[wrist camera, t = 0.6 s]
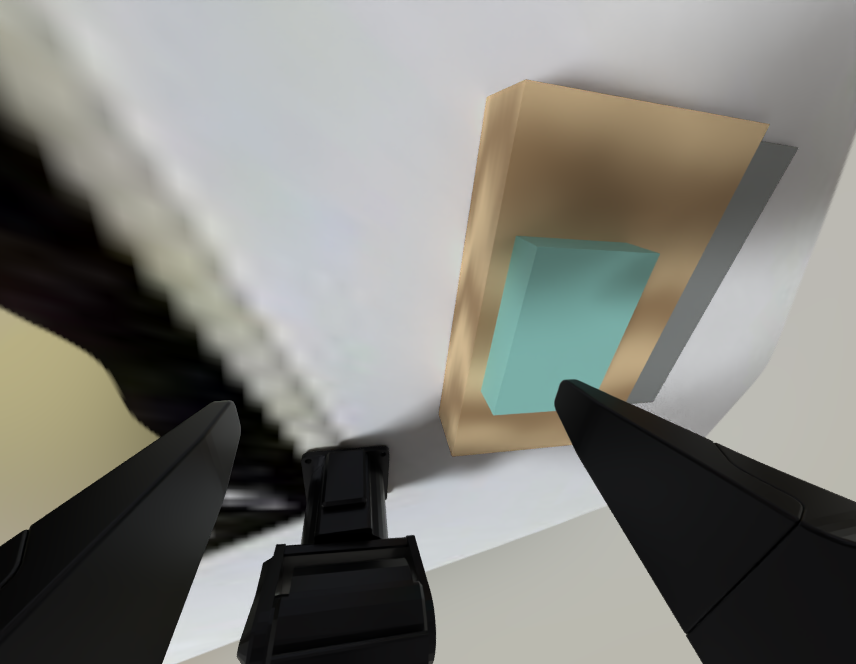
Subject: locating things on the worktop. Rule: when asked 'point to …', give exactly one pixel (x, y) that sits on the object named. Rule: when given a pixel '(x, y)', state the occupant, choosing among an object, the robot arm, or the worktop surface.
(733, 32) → the worktop surface
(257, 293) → the worktop surface
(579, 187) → the board
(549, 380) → the teal rectangular block
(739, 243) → the mat
